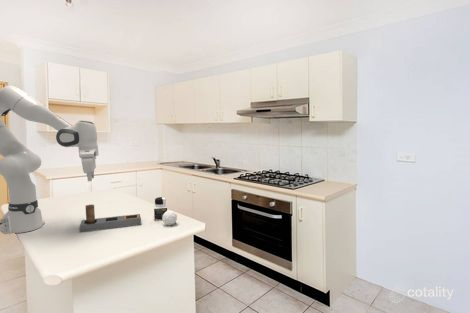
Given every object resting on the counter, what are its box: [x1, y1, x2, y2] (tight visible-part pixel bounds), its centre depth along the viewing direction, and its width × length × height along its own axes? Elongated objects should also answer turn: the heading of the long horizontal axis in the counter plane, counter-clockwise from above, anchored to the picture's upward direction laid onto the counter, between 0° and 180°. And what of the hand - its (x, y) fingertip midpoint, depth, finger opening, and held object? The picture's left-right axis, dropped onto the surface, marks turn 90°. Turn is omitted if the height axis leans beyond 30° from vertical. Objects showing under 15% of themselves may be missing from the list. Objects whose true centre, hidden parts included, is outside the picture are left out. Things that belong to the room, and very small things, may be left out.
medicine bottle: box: [153, 196, 168, 221], centre depth 164 cm, size 7×7×12 cm
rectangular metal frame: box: [79, 213, 142, 233], centre depth 152 cm, size 29×9×4 cm, turn 112°
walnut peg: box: [85, 204, 96, 224], centre depth 148 cm, size 4×4×12 cm
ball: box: [161, 210, 178, 226], centre depth 153 cm, size 8×8×8 cm
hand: (91, 179), depth 146 cm, fingers open, 8 cm apart
